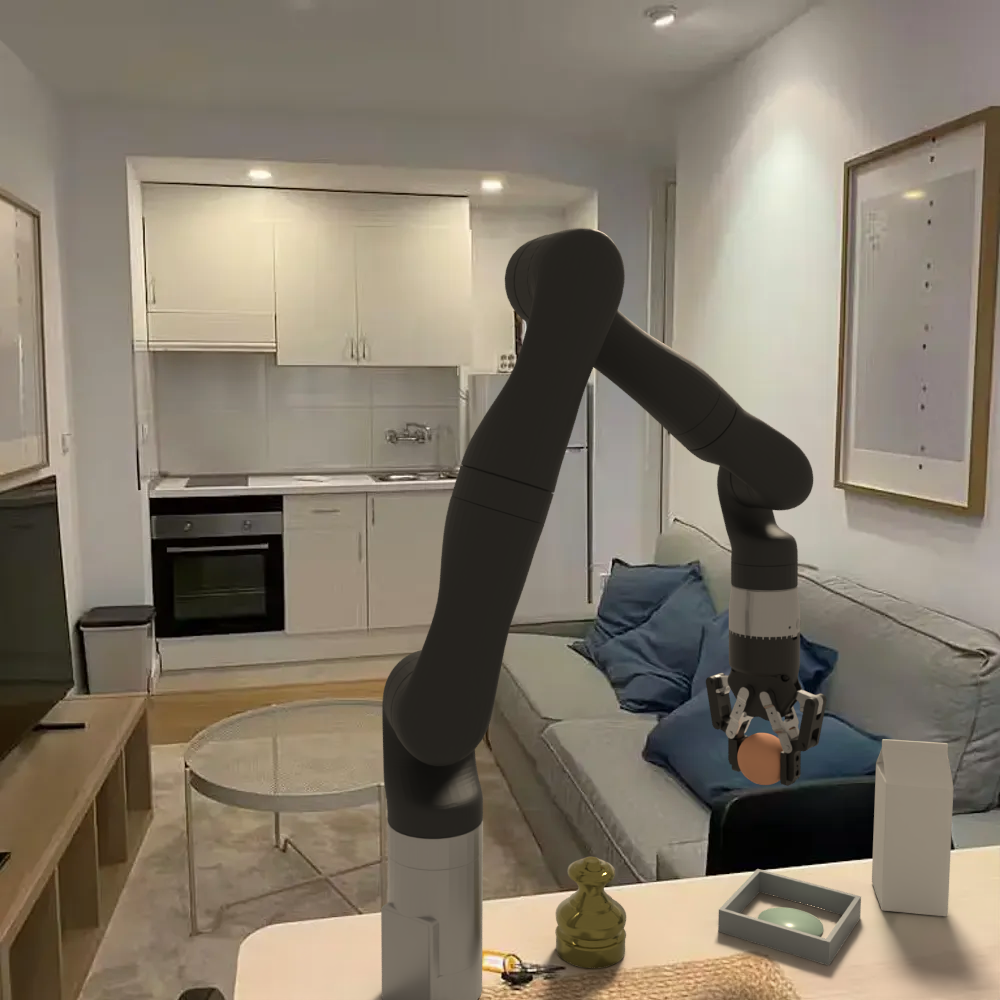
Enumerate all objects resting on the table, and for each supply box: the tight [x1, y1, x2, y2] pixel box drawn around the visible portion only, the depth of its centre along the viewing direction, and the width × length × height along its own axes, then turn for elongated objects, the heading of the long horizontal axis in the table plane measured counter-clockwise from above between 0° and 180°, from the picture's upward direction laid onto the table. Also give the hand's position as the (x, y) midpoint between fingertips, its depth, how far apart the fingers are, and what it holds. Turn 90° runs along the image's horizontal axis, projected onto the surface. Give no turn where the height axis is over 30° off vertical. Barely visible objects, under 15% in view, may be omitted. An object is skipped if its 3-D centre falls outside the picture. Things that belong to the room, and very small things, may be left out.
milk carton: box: [871, 738, 955, 917], centre depth 117 cm, size 7×7×19 cm
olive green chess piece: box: [555, 856, 627, 969], centre depth 106 cm, size 7×7×10 cm
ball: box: [737, 732, 783, 786], centre depth 112 cm, size 6×6×6 cm
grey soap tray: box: [717, 868, 862, 966], centre depth 112 cm, size 12×12×2 cm
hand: (763, 775), depth 112 cm, fingers closed on ball, 5 cm apart
